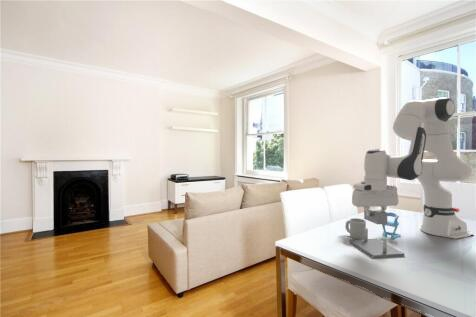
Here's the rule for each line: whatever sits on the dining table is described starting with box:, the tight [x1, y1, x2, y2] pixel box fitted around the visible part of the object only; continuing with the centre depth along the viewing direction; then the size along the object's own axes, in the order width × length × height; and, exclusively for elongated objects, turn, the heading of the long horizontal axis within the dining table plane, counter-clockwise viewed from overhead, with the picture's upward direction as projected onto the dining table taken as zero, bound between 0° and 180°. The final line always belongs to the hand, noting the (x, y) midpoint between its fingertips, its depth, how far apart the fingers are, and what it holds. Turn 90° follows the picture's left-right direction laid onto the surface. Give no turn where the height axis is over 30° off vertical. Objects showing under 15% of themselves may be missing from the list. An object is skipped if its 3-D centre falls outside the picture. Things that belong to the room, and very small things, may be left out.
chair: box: [381, 212, 401, 240], centre depth 120 cm, size 8×8×12 cm
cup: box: [345, 217, 367, 240], centre depth 120 cm, size 7×10×9 cm
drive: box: [363, 207, 388, 225], centre depth 105 cm, size 4×9×5 cm, turn 6°
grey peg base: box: [349, 227, 405, 259], centre depth 106 cm, size 14×17×7 cm
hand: (375, 215), depth 105 cm, fingers closed on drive, 4 cm apart
